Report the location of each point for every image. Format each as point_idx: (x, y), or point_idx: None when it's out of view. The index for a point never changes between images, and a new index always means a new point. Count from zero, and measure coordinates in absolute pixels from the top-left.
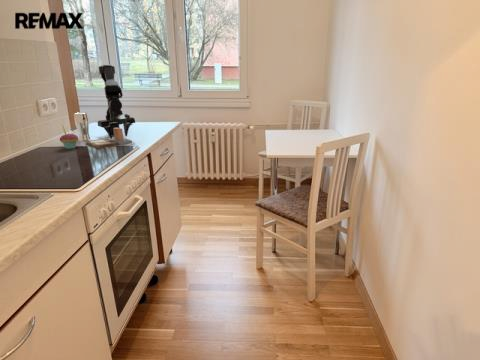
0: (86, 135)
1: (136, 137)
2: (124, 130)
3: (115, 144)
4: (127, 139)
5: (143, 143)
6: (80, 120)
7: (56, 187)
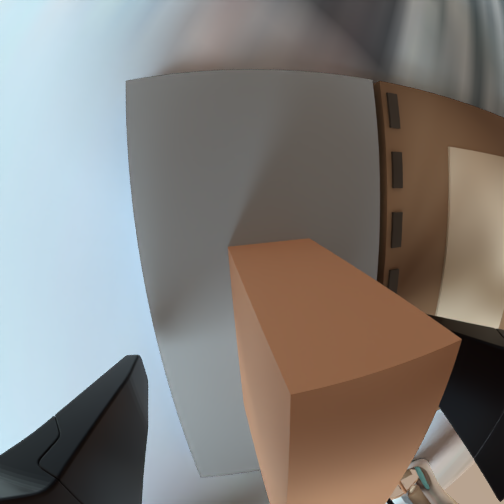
0: (416, 489)
1: (25, 406)
2: (138, 478)
3: (407, 91)
4: (155, 231)
5: (42, 17)
6: None
7: None
